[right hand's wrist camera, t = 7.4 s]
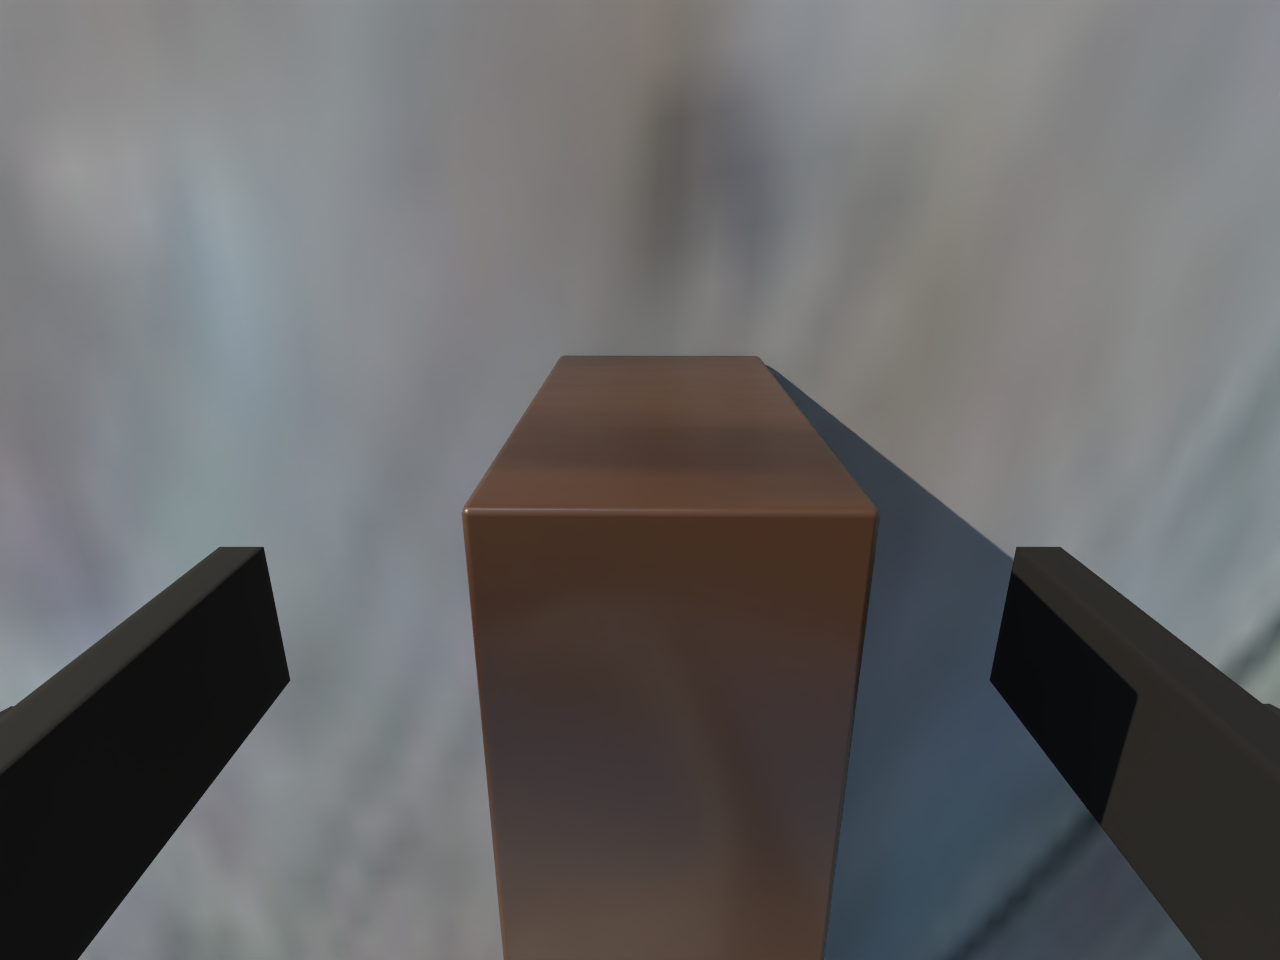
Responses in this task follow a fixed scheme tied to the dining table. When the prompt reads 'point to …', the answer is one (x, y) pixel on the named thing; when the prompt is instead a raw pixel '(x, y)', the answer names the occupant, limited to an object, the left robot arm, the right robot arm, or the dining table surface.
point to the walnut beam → (667, 662)
